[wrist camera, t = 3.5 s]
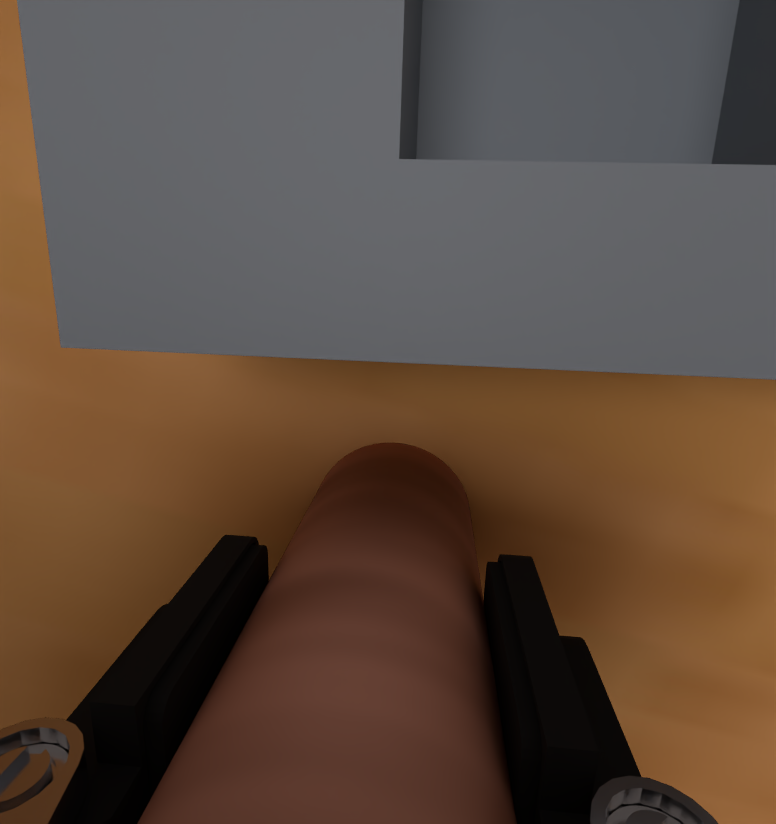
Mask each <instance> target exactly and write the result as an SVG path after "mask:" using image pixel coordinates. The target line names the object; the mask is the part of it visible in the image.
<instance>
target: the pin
mask: <svg viewBox="0 0 776 824" xmlns="http://www.w3.org/2000/svg"><path fill="white" fill-rule="evenodd" d="M137 824H517V820H516V815H515V810H514V803H513V797H512V790H511V783H510V777H509V770H508V763H507V757H506V750H505V743H504V737H503V730H502V723H501V717H500V710H499V703H498V697H497V690H496V683H495V677H494V670H493V663H492V657H491V650H490V643H489V637H488V630H487V623H486V617H485V610H484V603H483V595H482V589H481V582H480V575H479V569H478V562H477V556H476V549H475V542H474V536H473V529H472V523H471V516H470V509H469V503H468V499H467V496H466V493H465V491H464V488H463V486H462V484H461V482H460V481H459V479H458V478H457V476H456V475H455V474H454V472H453V471H452V470H451V469H450V468H449V467H448V466H447V465H446V464H445V463H444V462H443V461H441V460H440V459H439V458H437V457H436V456H434V455H433V454H431V453H429V452H427V451H425V450H423V449H420V448H417V447H415V446H411V445H406V444H400V443H380V444H373V445H369V446H366V447H363V448H360V449H358V450H355V451H353V452H352V453H350V454H348V455H346V456H345V457H344V458H342V459H341V460H340V461H338V462H337V463H336V464H335V465H334V466H333V467H332V469H331V470H330V471H329V473H328V474H327V475H326V477H325V479H324V480H323V482H322V484H321V486H320V488H319V490H318V491H317V493H316V495H315V497H314V499H313V501H312V503H311V504H310V506H309V508H308V510H307V512H306V514H305V515H304V517H303V519H302V521H301V523H300V525H299V527H298V528H297V530H296V532H295V534H294V536H293V538H292V539H291V541H290V543H289V545H288V547H287V549H286V551H285V552H284V554H283V556H282V558H281V560H280V562H279V563H278V565H277V567H276V569H275V571H274V573H273V574H272V576H271V578H270V580H269V582H268V584H267V586H266V587H265V589H264V591H263V593H262V595H261V597H260V598H259V600H258V602H257V604H256V606H255V608H254V610H253V611H252V613H251V615H250V617H249V619H248V621H247V622H246V624H245V626H244V628H243V630H242V632H241V633H240V635H239V637H238V639H237V641H236V643H235V645H234V646H233V648H232V650H231V652H230V654H229V656H228V657H227V659H226V661H225V663H224V665H223V667H222V669H221V670H220V672H219V674H218V676H217V678H216V680H215V681H214V683H213V685H212V687H211V689H210V691H209V692H208V694H207V696H206V698H205V700H204V702H203V704H202V705H201V707H200V709H199V711H198V713H197V715H196V716H195V718H194V720H193V722H192V724H191V726H190V728H189V729H188V731H187V733H186V735H185V737H184V739H183V740H182V742H181V744H180V746H179V748H178V750H177V752H176V753H175V755H174V757H173V759H172V761H171V763H170V764H169V766H168V768H167V770H166V772H165V774H164V775H163V777H162V779H161V781H160V783H159V785H158V787H157V788H156V790H155V792H154V794H153V796H152V798H151V799H150V801H149V803H148V805H147V807H146V809H145V811H144V812H143V814H142V816H141V818H140V820H139V822H138V823H137Z"/></svg>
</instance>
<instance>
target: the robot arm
mask: <svg viewBox="0 0 776 824" xmlns="http://www.w3.org/2000/svg"><path fill="white" fill-rule="evenodd" d="M268 582H269V575H268V550H267V547H266V546H265V545H259V543H258V540H257V538H256V537H250V536H236V535H225V536H223V537H222V538H221V540H220V541H219V542H218V543H217V545H216V546H215V547H214V548H213V550H212V551H211V552H210V553H209V554H208V556H207V557H206V558H205V559H204V561H203V562H202V563H201V564H200V566H199V567H198V568H197V569H196V571H195V572H194V573H193V574H192V575H191V577H190V578H189V579H188V580H187V582H186V583H185V584H184V585H183V587H182V588H181V589H180V590H179V591H178V593H177V594H176V595H175V596H174V598H173V599H172V600H171V601H170V603H169V604H165V605H163V606H162V607H161V608H159V609H158V610H157V611H156V612H155V614H154V615H153V616H152V617H151V619H150V620H149V621H148V622H147V623H146V625H145V626H144V627H143V628H142V629H141V631H140V632H139V633H138V634H137V635H136V637H135V638H134V639H133V640H132V641H131V643H130V644H129V645H128V646H127V647H126V649H125V650H124V651H123V652H122V654H121V655H120V656H119V657H118V658H117V660H116V661H115V662H114V663H113V664H112V666H111V667H110V668H109V669H108V670H107V672H106V673H105V674H104V675H103V676H102V678H101V679H100V680H99V681H98V682H97V684H96V685H95V686H94V687H93V689H92V690H91V691H90V692H89V693H88V695H87V696H86V697H85V698H84V699H83V701H82V702H81V703H80V704H79V705H78V707H77V708H76V709H75V710H74V711H73V713H72V714H71V715H70V716H69V717H68V719H67V720H64V719H59V718H46V717H45V718H39V719H33V720H27V721H23V722H20V723H17V724H15V725H12V726H9V727H6V728H3V729H1V730H0V824H137V823H138V822H139V820H140V818H141V816H142V814H143V812H144V811H145V809H146V807H147V805H148V803H149V801H150V799H151V798H152V796H153V794H154V792H155V790H156V788H157V787H158V785H159V783H160V781H161V779H162V777H163V775H164V774H165V772H166V770H167V768H168V766H169V764H170V763H171V761H172V759H173V757H174V755H175V753H176V752H177V750H178V748H179V746H180V744H181V742H182V740H183V739H184V737H185V735H186V733H187V731H188V729H189V728H190V726H191V724H192V722H193V720H194V718H195V716H196V715H197V713H198V711H199V709H200V707H201V705H202V704H203V702H204V700H205V698H206V696H207V694H208V692H209V691H210V689H211V687H212V685H213V683H214V681H215V680H216V678H217V676H218V674H219V672H220V670H221V669H222V667H223V665H224V663H225V661H226V659H227V657H228V656H229V654H230V652H231V650H232V648H233V646H234V645H235V643H236V641H237V639H238V637H239V635H240V633H241V632H242V630H243V628H244V626H245V624H246V622H247V621H248V619H249V617H250V615H251V613H252V611H253V610H254V608H255V606H256V604H257V602H258V600H259V598H260V597H261V595H262V593H263V591H264V589H265V587H266V586H267V584H268ZM483 603H484V610H485V617H486V623H487V630H488V637H489V643H490V650H491V657H492V663H493V670H494V677H495V683H496V690H497V697H498V703H499V710H500V717H501V723H502V730H503V737H504V743H505V750H506V757H507V763H508V770H509V777H510V783H511V790H512V797H513V803H514V810H515V815H516V820H517V824H718V823H717V821H716V820H715V819H714V818H713V817H712V816H711V815H710V814H709V813H708V812H707V811H706V810H704V809H703V808H702V807H701V806H700V805H699V804H698V803H696V802H695V801H694V800H693V799H692V798H690V797H688V796H687V795H685V794H683V793H682V792H680V791H678V790H677V789H675V788H673V787H672V786H669V785H667V784H664V783H661V782H659V781H656V780H653V779H650V778H644V777H641V775H640V772H639V770H638V767H637V765H636V762H635V760H634V758H633V755H632V753H631V750H630V748H629V746H628V743H627V741H626V738H625V736H624V733H623V731H622V729H621V726H620V724H619V721H618V719H617V716H616V714H615V712H614V709H613V707H612V704H611V702H610V700H609V697H608V695H607V692H606V690H605V687H604V685H603V683H602V680H601V678H600V675H599V673H598V670H597V668H596V666H595V663H594V661H593V658H592V656H591V654H590V651H589V649H588V646H587V645H586V643H585V641H584V640H583V639H582V638H580V637H570V636H559V633H558V631H557V628H556V625H555V622H554V619H553V616H552V613H551V610H550V607H549V605H548V602H547V599H546V596H545V593H544V590H543V587H542V584H541V581H540V579H539V576H538V573H537V570H536V567H535V564H534V561H533V559H532V557H530V556H517V555H503V554H500V555H499V558H498V562H488V563H487V568H486V578H485V589H484V601H483Z"/></svg>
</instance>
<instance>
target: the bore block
mask: <svg viewBox="0 0 776 824" xmlns="http://www.w3.org/2000/svg"><path fill="white" fill-rule="evenodd" d="M17 4H18V12H19V20H20V28H21V35H22V43H23V51H24V59H25V67H26V75H27V83H28V91H29V99H30V107H31V115H32V123H33V130H34V138H35V146H36V154H37V162H38V170H39V178H40V186H41V194H42V202H43V210H44V218H45V225H46V233H47V241H48V249H49V257H50V265H51V273H52V281H53V289H54V297H55V305H56V313H57V320H58V328H59V336H60V344H61V347H63V348H86V349H108V350H130V351H152V352H174V353H196V354H219V355H241V356H263V357H285V358H307V359H330V360H352V361H374V362H396V363H418V364H441V365H463V366H485V367H507V368H529V369H551V370H574V371H596V372H618V373H640V374H662V375H685V376H707V377H729V378H751V379H773V380H776V0H17Z"/></svg>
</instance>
